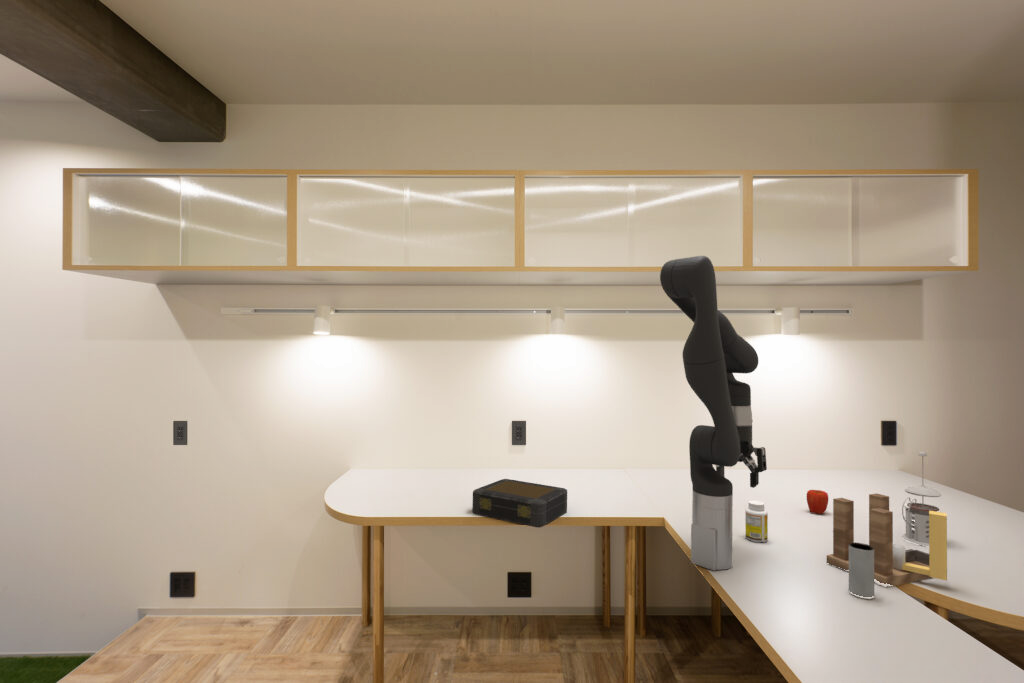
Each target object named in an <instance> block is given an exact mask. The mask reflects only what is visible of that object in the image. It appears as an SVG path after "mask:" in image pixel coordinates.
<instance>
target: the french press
mask: <svg viewBox="0 0 1024 683" xmlns="http://www.w3.org/2000/svg"><path fill="white" fill-rule="evenodd" d="M918 456H920V457H921V458H922V462H921V465H922V466H921V467H922V468H921V473H922V474H921V476H922V478H921V479H922V480H921V481H922V485H913V486H909V487H907V488H905V489H904V491H905V492H906V493H907V494H910V495H913V496H917V497H918V496H919V497H922V503H921V502H920V503H919V502H917V499H916V498H913V499H912V500H911V497H910V496H908V497H906V498H905V499H904V501H903V503H902V507H901V515H902V519H903V520H904V522H905V534H903V535H902V536H903V538H904V539H905V540H908V541H910V542H913V543H916V544H919V545H924V546H929V511H935V512H937V511H939V510H940V508H939V507H937V506H935V505H931V504H926V503H924V497H927V498H938V497H939V498H940V497H941V496H942V493H940V492H939V491H938V490H936V489H935V488H932V487H928V486H925V485H924V457H928V454H927V452H926V451H919V452H918ZM907 500H909V502H907V503H906V501H907ZM904 504H907V506H908V507H909V508H906V512H905V515H904V508H905V507H904ZM912 514H913V515H914V517H913V516H912ZM912 519H914V520H915V522H914V521H912ZM919 545H918V546H919ZM924 546H923V547H924Z"/></svg>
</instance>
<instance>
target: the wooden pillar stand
mask: <svg viewBox="0 0 1024 683" xmlns="http://www.w3.org/2000/svg"><path fill="white" fill-rule="evenodd" d="M832 500H833V502H832V503H833V506H832V508H833V510H832V511H833V512H832V513H833V514H832V516H833V517H832V518H833V522H832V523H833V524H832V526H833V528H832V529H833V530H832V532H833V533H832V539H833V540H832V541H833V545H832V546H833V547H832V553H831V554H826V564H827V563H829V564H831V565H830V566H832V565H834V566H836V567H835V568H837V567H840V568H842V569H845V570H849V543H853V542H855V540H854V539H855V534H854V532H855V530H854V529H855V528H854V527H855V524H854V522H855V521H854V518H855V517H854V516H855V514H854V513H855V512H854V511H855V510H854V505H855V503H854V500H852V499H847V498H844V497H838V498H837V497H836V498H833V499H832ZM893 514H894V513H893V511H891V510H890V496H889V495H885V494H881V493H870V494H868V535H869V536H868V545H870V546H872V547H873V548H874V579H876V580H877V581H879V582H880V583H884V584H886V583H887V584H890V585H893V586H892V587H894V586H899V585H904V584H908V583H913V582H918V581H922V580H927V579H930V578H931V579H932V577H930V576H929V575H924V574H920V573H915V572H910V571H906V570H898V569H895V568H893V543H894V540H893V538H894V530H893V529H894V526H893V525H894V522H893V519H894V517H893V516H894V515H893ZM905 562H906V563H911V564H915V565H920V566H925V567H929V552H925V551H921V550H919V549H912V548H911V549H905ZM829 564H828V565H829ZM834 566H833V567H834Z"/></svg>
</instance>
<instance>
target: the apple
mask: <svg viewBox="0 0 1024 683" xmlns="http://www.w3.org/2000/svg"><path fill="white" fill-rule="evenodd" d="M806 503H807V507H808V510H809V511H810V512H811V513H812V514H819V515H820V514H821V515H822V514H824V513H825V512H826V510H827V509H828V504H829V493H827V492H826V491H824V490H820V489H817V490H816V489H809V490H807V491H806Z"/></svg>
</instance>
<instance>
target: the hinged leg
mask: <svg viewBox="0 0 1024 683" xmlns="http://www.w3.org/2000/svg"><path fill="white" fill-rule="evenodd" d="M905 550H906V547H905V546H904V545H901V544H896V543H894V544H893V568H895V569H898V570H906V571H910V572H915V573H920V574H924V575H929V576H930V577H931V579H932V578H933V579H937V580H938V579H939V580H942V581H948V515H947V513H946V512H941V511H940V512H935V511H929V547H928V551H929V552H928V554H929V567H925V566H920V565H915V564H911V563H906V562H905Z"/></svg>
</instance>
